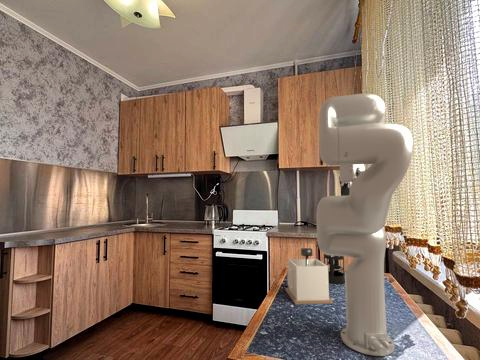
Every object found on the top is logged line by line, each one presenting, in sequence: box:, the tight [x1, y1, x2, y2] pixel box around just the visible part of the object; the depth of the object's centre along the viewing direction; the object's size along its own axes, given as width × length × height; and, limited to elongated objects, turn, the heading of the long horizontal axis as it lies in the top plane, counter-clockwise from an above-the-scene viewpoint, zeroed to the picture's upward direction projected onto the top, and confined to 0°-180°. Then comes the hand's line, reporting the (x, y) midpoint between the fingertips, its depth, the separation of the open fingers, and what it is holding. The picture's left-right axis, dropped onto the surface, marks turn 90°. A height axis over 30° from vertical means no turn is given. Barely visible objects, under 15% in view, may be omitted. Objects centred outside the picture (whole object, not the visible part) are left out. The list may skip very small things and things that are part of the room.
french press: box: [323, 253, 345, 285], centre depth 118 cm, size 12×9×23 cm
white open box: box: [285, 258, 334, 305], centre depth 99 cm, size 14×14×13 cm
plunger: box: [300, 247, 314, 266], centre depth 99 cm, size 10×10×15 cm
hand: (352, 198), depth 90 cm, fingers open, 9 cm apart
